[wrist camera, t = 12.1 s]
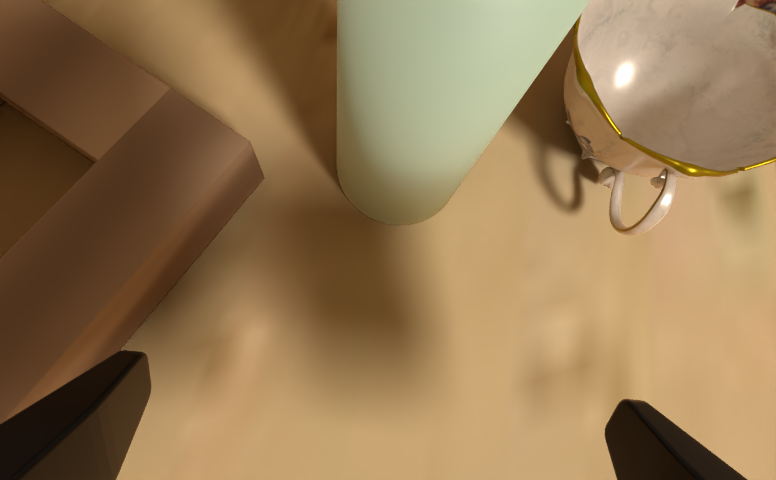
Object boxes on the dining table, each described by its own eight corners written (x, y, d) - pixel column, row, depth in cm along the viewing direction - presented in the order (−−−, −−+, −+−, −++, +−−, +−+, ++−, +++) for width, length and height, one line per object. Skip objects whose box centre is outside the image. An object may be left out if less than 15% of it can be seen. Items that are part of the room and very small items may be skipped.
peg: (477, 152, 19) (663, -121, 8) (420, 248, 17) (555, 71, 7) (377, 92, 19) (430, -250, 8) (312, 183, 17) (275, -90, 7)
